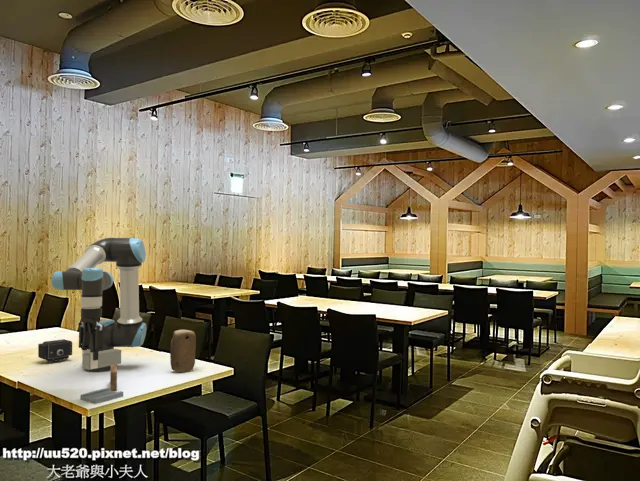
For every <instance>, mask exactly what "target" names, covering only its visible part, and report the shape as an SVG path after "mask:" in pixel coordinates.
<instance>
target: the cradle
mask: <svg viewBox="0 0 640 481" xmlns="http://www.w3.org/2000/svg"><path fill="white" fill-rule="evenodd" d="M79 396H80V398H79V399H80V400H82V401H84V402H89V403H92V404H96V405H97V404H101V403H104V402H108V401H110V400H111V401H112V400H115V399H119V398H122V397H124V391H121V390H120V391H111V390H110V387H106V388H101V389H96V390H93V391H89V392H85V393H82V394H80V395H79Z"/></svg>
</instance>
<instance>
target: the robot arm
mask: <svg viewBox="0 0 640 481" xmlns="http://www.w3.org/2000/svg"><path fill="white" fill-rule="evenodd" d="M145 247H146V246H145V244H144V242H143V240H142V239H140V238H135V237H105V238H103V239H101V238H100V239H99V240H97V241H95V242H92V243H91V244H90V245H89V246H87V247H86V248H85V250H84V253H83V254H82V255H81V256H80V257H78V259H77V260H75V262H73V263H72V264H71V265H70V266H69V267H68V268H66V270H65V271H63V270H59V271H55V272H53V274H52V277H51V285H52V287H53V289H54V290H56V291H57V290H60V291H81V292H80V293H81V295H80V307H81V309H80V317H81V319H83V321H81V322H78V324H77V325H78V349H79V348H80V350H81V351H82V352H81V353H82V354H81V355H82V357H81V359H82V358H83V354H86V353H91V355H90V369H91V370H87V369H83V371H85V372H92V373H93V372H94V373H95V372H97V373H99V372H109V371H111V366H106V367H101V368H98V352H99V351H104V350H110V349H115V348H138V347H141V346H142V345H143V344H144V341H145V338H146V335H147V323H145V322H143V318H142V317H141V316H140V299H139V298H140V296H139V294H140V291H139V290H140V289H139V288H140V285H139V283H140V282H139V278H140V277H139V276H140V275H139V268H141V267H142V263H144V262H145V261H146V256H147V255H146V248H145ZM104 262H108V263H109V262H112V263H115V266H116V268H118V269H119V303H120V307H119V308H120V310H119V311H120V312H119V314H120V317H119V318H118V319H117V322H115V320H114V319H103V320H100V318H102V317H103V316H102V315H103V309H102V306H103V291H105V290H108V289H110V288H111V287H112V286H113V284H114V278H113V275H112V274H111V273H110V272H108V271H104V270H103V268H101V267H97V266H98V265H101V264H103V263H104ZM95 368H96V369H95Z"/></svg>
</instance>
